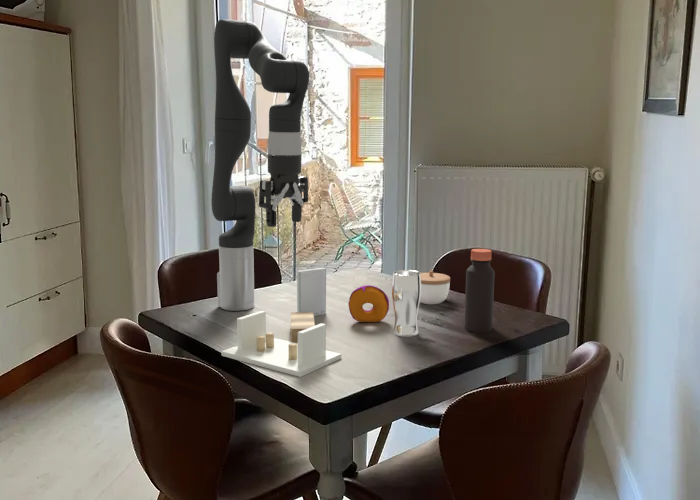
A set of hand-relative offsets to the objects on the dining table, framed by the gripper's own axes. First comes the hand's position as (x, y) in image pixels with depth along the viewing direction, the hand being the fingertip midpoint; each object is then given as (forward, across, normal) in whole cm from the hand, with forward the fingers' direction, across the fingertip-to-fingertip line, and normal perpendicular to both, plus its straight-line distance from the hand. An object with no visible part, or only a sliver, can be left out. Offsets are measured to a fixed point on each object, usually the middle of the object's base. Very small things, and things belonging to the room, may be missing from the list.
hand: (284, 224), depth 160 cm
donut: (+28, -22, +9) cm, 37 cm away
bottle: (+27, -34, +34) cm, 55 cm away
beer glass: (+27, -21, +21) cm, 40 cm away
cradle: (+27, +10, +8) cm, 30 cm away
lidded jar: (+28, -50, +12) cm, 58 cm away
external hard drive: (+28, -19, -7) cm, 35 cm away
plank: (+28, -5, +2) cm, 28 cm away
